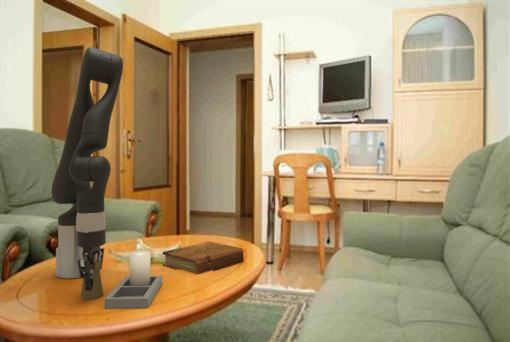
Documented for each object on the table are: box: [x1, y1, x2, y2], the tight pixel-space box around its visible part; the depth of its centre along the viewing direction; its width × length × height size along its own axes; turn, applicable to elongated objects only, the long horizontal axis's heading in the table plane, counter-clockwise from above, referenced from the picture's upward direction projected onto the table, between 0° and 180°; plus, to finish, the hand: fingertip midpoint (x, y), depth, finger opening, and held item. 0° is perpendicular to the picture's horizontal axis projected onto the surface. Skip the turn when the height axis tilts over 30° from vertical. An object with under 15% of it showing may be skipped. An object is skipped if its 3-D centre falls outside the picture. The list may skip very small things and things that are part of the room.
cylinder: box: [128, 249, 152, 286], centre depth 115 cm, size 6×6×11 cm
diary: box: [162, 241, 245, 275], centre depth 145 cm, size 23×19×6 cm
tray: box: [104, 275, 163, 310], centre depth 111 cm, size 11×19×3 cm, turn 2°
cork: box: [80, 259, 104, 301], centre depth 110 cm, size 6×6×11 cm
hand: (92, 288), depth 110 cm, fingers closed on cork, 3 cm apart
